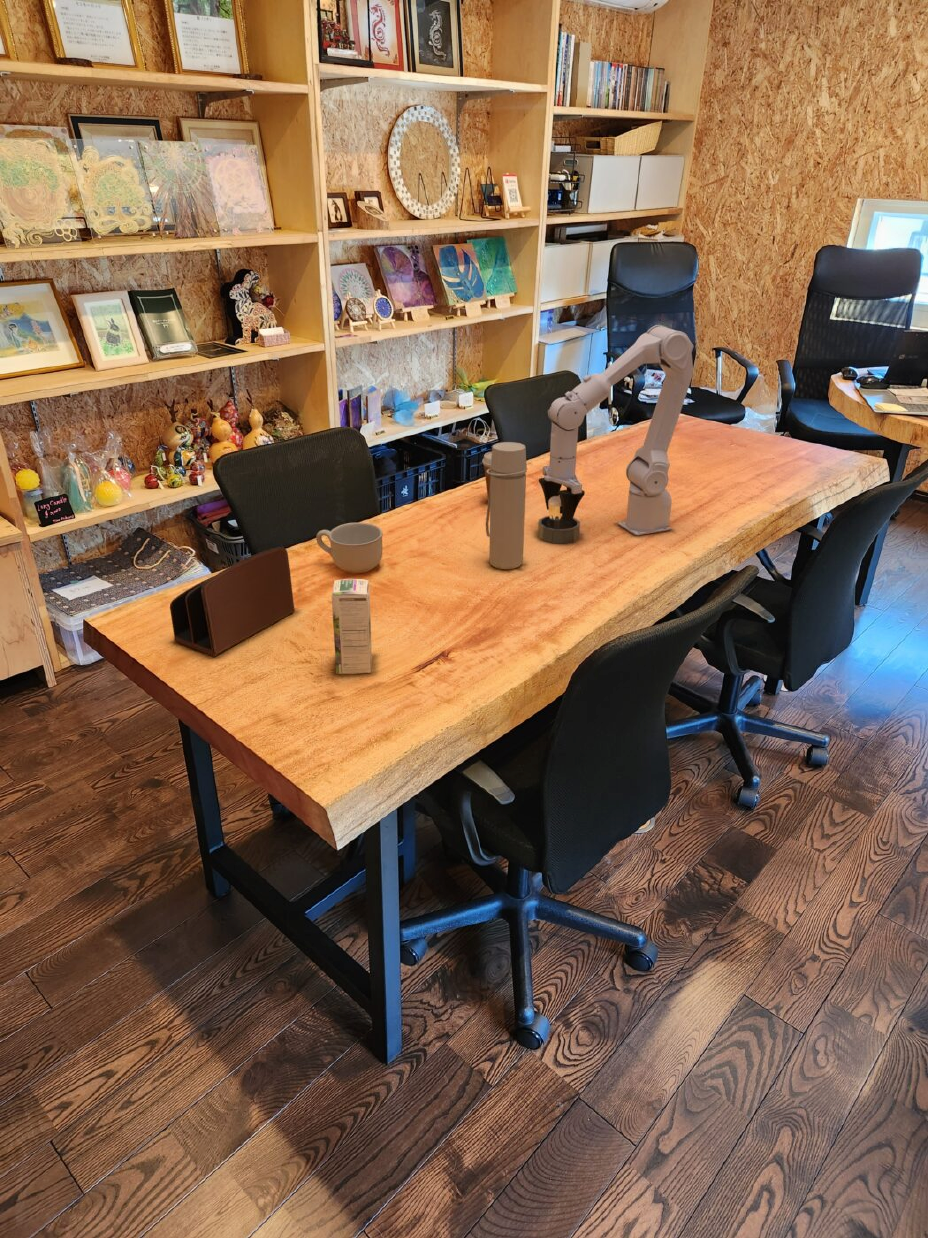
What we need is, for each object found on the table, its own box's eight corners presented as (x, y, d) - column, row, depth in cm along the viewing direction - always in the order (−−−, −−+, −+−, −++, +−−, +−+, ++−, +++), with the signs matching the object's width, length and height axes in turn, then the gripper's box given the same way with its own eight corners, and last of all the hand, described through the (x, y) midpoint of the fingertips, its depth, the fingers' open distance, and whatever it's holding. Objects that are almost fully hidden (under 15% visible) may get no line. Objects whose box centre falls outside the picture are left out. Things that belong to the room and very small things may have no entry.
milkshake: (569, 540, 184) (572, 497, 180) (545, 538, 185) (547, 495, 180) (571, 532, 188) (573, 490, 183) (547, 531, 189) (549, 489, 184)
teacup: (393, 562, 173) (391, 527, 169) (366, 582, 164) (364, 545, 161) (337, 551, 178) (334, 516, 175) (308, 570, 170) (304, 534, 166)
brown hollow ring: (566, 526, 192) (567, 513, 190) (586, 539, 184) (587, 526, 183) (531, 531, 189) (531, 518, 187) (549, 545, 181) (550, 532, 180)
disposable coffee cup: (526, 500, 207) (528, 453, 202) (507, 511, 200) (509, 463, 195) (494, 493, 212) (494, 447, 206) (474, 504, 205) (474, 457, 199)
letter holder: (295, 612, 153) (288, 541, 146) (215, 658, 138) (202, 581, 132) (256, 599, 158) (247, 530, 151) (174, 642, 143) (160, 568, 136)
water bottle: (531, 563, 173) (536, 446, 161) (507, 574, 168) (510, 454, 156) (498, 551, 179) (500, 437, 167) (473, 562, 173) (474, 445, 162)
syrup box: (338, 657, 138) (331, 578, 132) (373, 656, 139) (368, 577, 132) (336, 675, 133) (329, 594, 127) (372, 673, 134) (368, 593, 127)
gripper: (531, 448, 183) (529, 506, 189) (562, 466, 171) (558, 528, 177) (559, 445, 185) (556, 502, 191) (592, 463, 173) (587, 523, 179)
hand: (559, 514), depth 184 cm, fingers open, 7 cm apart
